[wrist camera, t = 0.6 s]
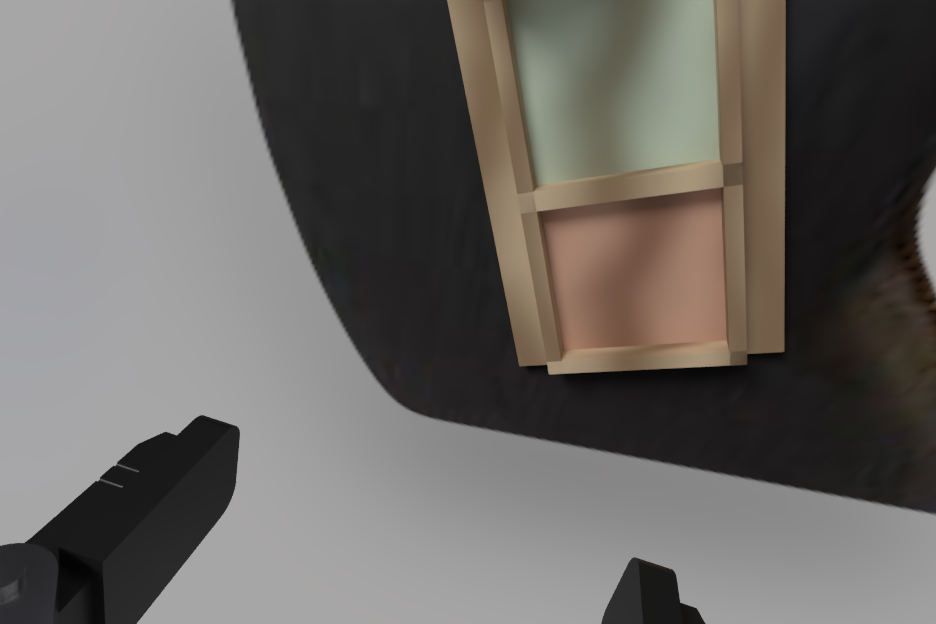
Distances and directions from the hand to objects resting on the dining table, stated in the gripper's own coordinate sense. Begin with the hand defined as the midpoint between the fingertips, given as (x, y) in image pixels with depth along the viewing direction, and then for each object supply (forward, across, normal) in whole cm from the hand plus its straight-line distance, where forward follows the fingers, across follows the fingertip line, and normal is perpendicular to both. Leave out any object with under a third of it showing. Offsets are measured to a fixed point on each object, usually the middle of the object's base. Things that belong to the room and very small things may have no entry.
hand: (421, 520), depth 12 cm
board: (+23, -4, -3) cm, 23 cm away
